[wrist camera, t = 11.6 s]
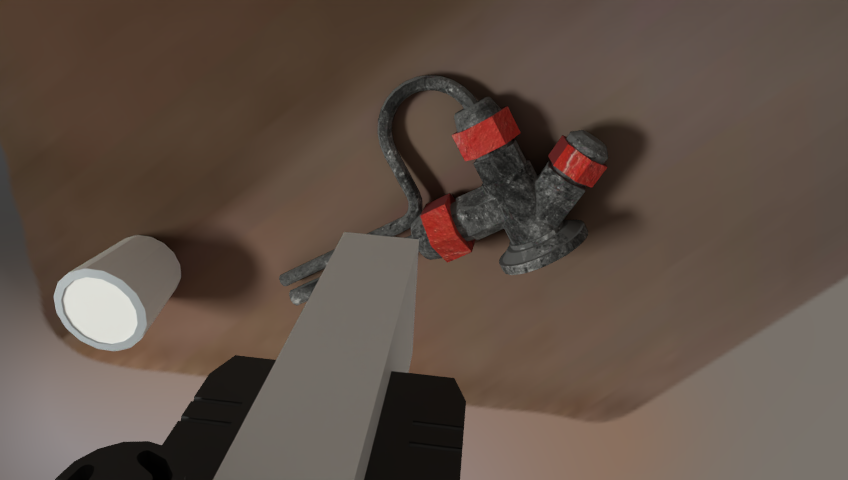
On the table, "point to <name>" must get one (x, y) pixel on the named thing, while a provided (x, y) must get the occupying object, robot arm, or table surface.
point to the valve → (486, 189)
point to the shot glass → (118, 292)
